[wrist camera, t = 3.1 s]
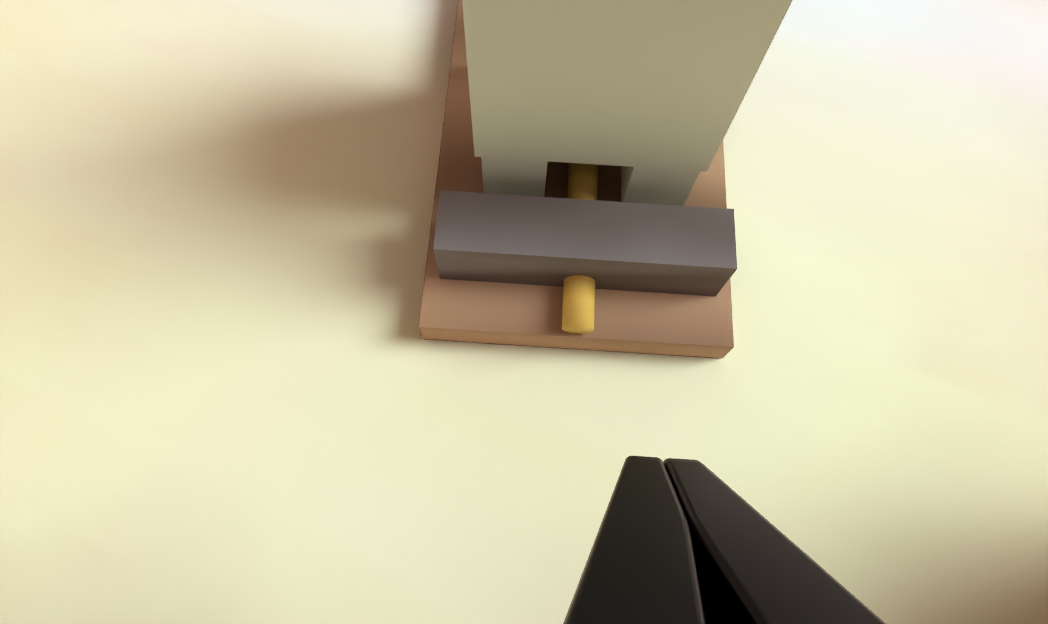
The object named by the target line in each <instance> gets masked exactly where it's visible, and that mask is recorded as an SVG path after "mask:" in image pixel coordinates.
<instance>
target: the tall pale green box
mask: <svg viewBox="0 0 1048 624" xmlns="http://www.w3.org/2000/svg"><path fill="white" fill-rule="evenodd" d="M791 2H792V0H462V5H463V17H464V30H465V42H466V55H467V67H468V80H469V92H470V105H471V118H472V130H473V143H474V155H475V157H481V161H482V177H483V192H484V193H490V194H506V195H521V196H537V197H544V193H545V183H546V173H547V163H548V161H550V162H566V163H581V164H597V165H613V166H621V202H631V203H646V204H662V205H678V206H684V204H685V202H686V200H687V198H688V196H689V194H690V191H691V189H692V187H693V185H694V183H695V181H696V179H697V177H698V175H699V173H700V171H707V170H708V168H709V166H710V164H711V162H712V160H713V158H714V156H715V154H716V152H717V150H718V148H719V146H720V144H721V142H722V140H723V138H724V136H725V134H726V132H727V130H728V128H729V126H730V124H731V122H732V120H733V118H734V116H735V114H736V112H737V110H738V108H739V106H740V104H741V102H742V100H743V98H744V96H745V94H746V92H747V90H748V88H749V86H750V84H751V82H752V80H753V78H754V76H755V74H756V72H757V70H758V68H759V66H760V64H761V62H762V60H763V58H764V56H765V54H766V52H767V50H768V48H769V46H770V44H771V42H772V40H773V38H774V36H775V34H776V32H777V30H778V28H779V26H780V24H781V22H782V20H783V18H784V16H785V14H786V12H787V10H788V8H789V6H790V4H791Z"/></svg>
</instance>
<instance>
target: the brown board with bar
mask: <svg viewBox="0 0 1048 624" xmlns="http://www.w3.org/2000/svg"><path fill="white" fill-rule="evenodd" d="M736 269H737V260H736V242H735V224H734V209H726V189H725V170H724V150H723V140H722V142H721V144H720V146H719V148H718V150H717V152H716V154H715V156H714V158H713V160H712V162H711V164H710V166H709V168H708V170H707V171H700V173H699V175H698V177H697V179H696V181H695V183H694V185H693V187H692V189H691V191H690V194H689V196H688V198H687V200H686V202H685V204H684V206H678V205H662V204H646V203H631V202H621V166H613V165H597V164H581V163H566V162H550V161H548V163H547V173H546V183H545V193H544V197H537V196H521V195H506V194H490V193H484V192H483V177H482V161H481V157H475V155H474V143H473V130H472V118H471V105H470V92H469V80H468V67H467V55H466V42H465V30H464V17H463V5H462V0H458V9H457V17H456V25H455V33H454V41H453V50H452V58H451V66H450V74H449V83H448V91H447V99H446V107H445V115H444V124H443V132H442V140H441V148H440V156H439V165H438V173H437V181H436V189H435V197H434V206H433V214H432V222H431V230H430V239H429V247H428V255H427V263H426V271H425V280H424V288H423V296H422V304H421V312H420V321H419V329H420V332H421V335H422V337H423V339H430V340H446V341H462V342H477V343H493V344H509V345H524V346H540V347H555V348H571V349H587V350H602V351H618V352H634V353H649V354H665V355H680V356H696V357H712V358H723V357H724V356H725V355H726V354H727V353H728V352H729V351H730V350H731V349H732V348H733V347H734V344H733V325H732V305H731V286H730V277H731V276H732V275H733V273H734V272H735V271H736Z"/></svg>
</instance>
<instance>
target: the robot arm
mask: <svg viewBox="0 0 1048 624" xmlns="http://www.w3.org/2000/svg"><path fill="white" fill-rule="evenodd" d="M563 624H886V623H884V622H883V621H882V620H881V619H880V618H879V617H878V616H876V615H875V614H874V613H873V612H872V611H871V610H870V609H868V608H867V607H866V606H865V605H864V604H863V603H862V602H860V601H859V600H858V599H857V598H856V597H855V596H854V595H852V594H851V593H850V592H849V591H848V590H847V589H846V588H844V587H843V586H842V585H841V584H840V583H839V582H837V581H836V580H835V579H834V578H833V577H832V576H831V575H829V574H828V573H827V572H826V571H825V570H824V569H823V568H821V567H820V566H819V565H818V564H817V563H816V562H815V561H813V560H812V559H811V558H810V557H809V556H808V555H807V554H805V553H804V552H803V551H802V550H801V549H800V548H799V547H797V546H796V545H795V544H794V543H793V542H792V541H791V540H789V539H788V538H787V537H786V536H785V535H784V534H783V533H781V532H780V531H779V530H778V529H777V528H776V527H775V526H773V525H772V524H771V523H770V522H769V521H768V520H767V519H765V518H764V517H763V516H762V515H761V514H760V513H759V512H757V511H756V510H755V509H754V508H753V507H752V506H751V505H749V504H748V503H747V502H746V501H745V500H744V499H743V498H741V497H740V496H739V495H738V494H737V493H736V492H734V491H733V490H732V489H731V488H730V487H729V486H728V485H726V484H725V483H724V482H723V481H722V480H721V479H720V478H718V477H717V476H716V475H715V474H714V473H713V472H712V471H710V470H709V469H708V468H707V467H706V466H705V465H704V464H702V463H701V462H699V461H697V460H688V459H671V458H668V459H666V460H664V461H662V460H661V459H660V458H656V457H642V456H629V457H627V458H626V460H625V462H624V465H623V468H622V470H621V473H620V476H619V478H618V481H617V484H616V486H615V489H614V491H613V494H612V497H611V499H610V502H609V505H608V507H607V510H606V513H605V515H604V518H603V520H602V523H601V526H600V528H599V531H598V534H597V536H596V539H595V542H594V544H593V547H592V549H591V552H590V555H589V557H588V560H587V563H586V565H585V568H584V571H583V573H582V576H581V578H580V581H579V584H578V586H577V589H576V592H575V594H574V597H573V600H572V602H571V605H570V607H569V610H568V613H567V615H566V618H565V621H564V623H563Z"/></svg>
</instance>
